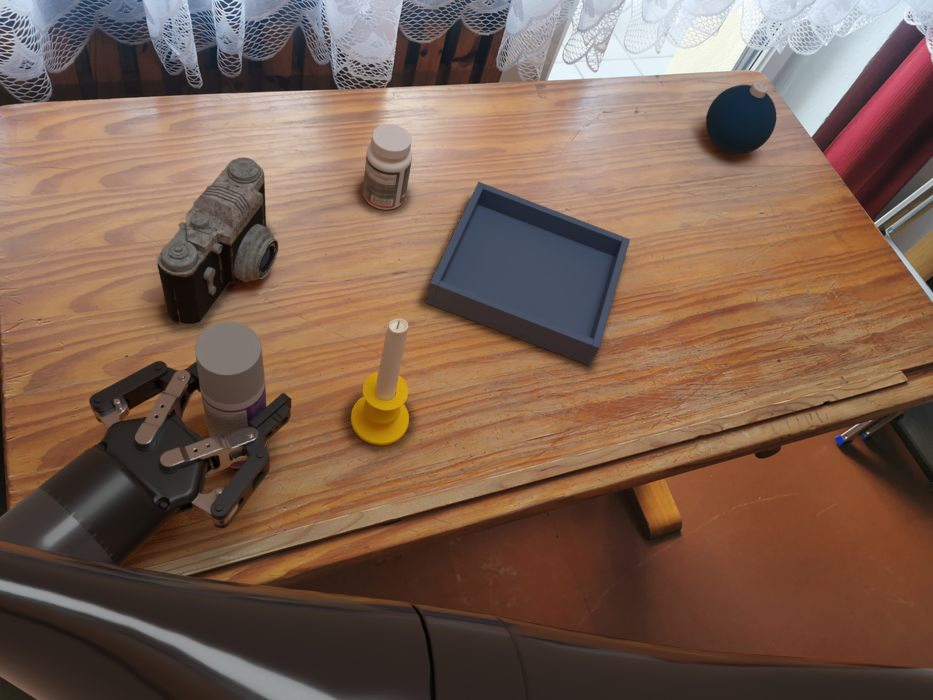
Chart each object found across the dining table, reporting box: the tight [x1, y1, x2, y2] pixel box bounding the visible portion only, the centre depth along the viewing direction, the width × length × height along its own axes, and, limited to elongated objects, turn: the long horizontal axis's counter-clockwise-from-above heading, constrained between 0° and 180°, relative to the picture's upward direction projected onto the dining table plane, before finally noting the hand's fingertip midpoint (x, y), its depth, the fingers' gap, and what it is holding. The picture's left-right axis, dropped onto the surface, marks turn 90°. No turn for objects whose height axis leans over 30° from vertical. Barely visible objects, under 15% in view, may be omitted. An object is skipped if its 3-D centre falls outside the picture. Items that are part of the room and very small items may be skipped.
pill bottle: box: [362, 123, 413, 211], centre depth 82 cm, size 5×5×8 cm
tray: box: [425, 181, 631, 366], centre depth 81 cm, size 18×16×3 cm
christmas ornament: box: [705, 81, 777, 155], centre depth 97 cm, size 8×8×10 cm
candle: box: [350, 318, 410, 447], centre depth 64 cm, size 5×5×16 cm
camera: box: [156, 156, 279, 326], centre depth 72 cm, size 15×7×10 cm, turn 160°
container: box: [194, 321, 269, 469], centre depth 60 cm, size 5×5×15 cm
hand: (258, 377), depth 61 cm, fingers open, 5 cm apart
